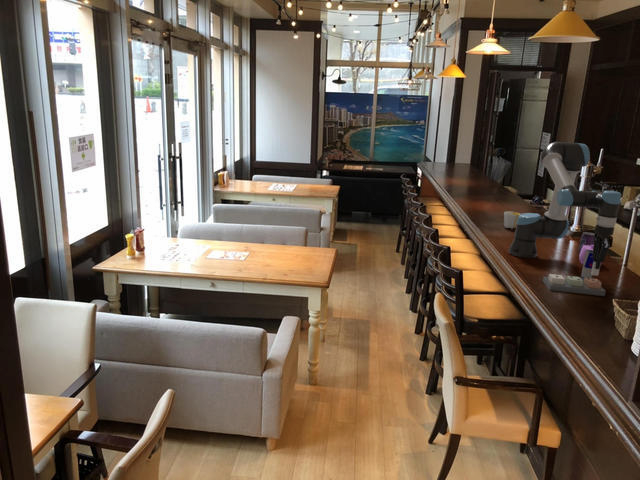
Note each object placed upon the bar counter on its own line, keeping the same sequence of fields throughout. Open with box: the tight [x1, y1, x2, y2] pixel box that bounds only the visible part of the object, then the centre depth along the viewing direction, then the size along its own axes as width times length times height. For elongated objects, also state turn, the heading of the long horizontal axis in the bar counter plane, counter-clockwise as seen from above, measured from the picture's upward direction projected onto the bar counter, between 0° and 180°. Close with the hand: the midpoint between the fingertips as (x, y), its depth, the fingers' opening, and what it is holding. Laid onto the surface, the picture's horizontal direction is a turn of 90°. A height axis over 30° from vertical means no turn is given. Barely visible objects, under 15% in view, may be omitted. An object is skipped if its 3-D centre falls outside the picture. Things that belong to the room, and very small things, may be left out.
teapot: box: [578, 245, 602, 267], centre depth 283 cm, size 18×10×10 cm, turn 162°
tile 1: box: [547, 273, 566, 285], centre depth 241 cm, size 6×6×3 cm
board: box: [542, 276, 607, 297], centre depth 241 cm, size 12×24×2 cm, turn 81°
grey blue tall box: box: [580, 250, 594, 281], centre depth 253 cm, size 5×5×15 cm
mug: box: [503, 210, 521, 230], centre depth 351 cm, size 14×10×10 cm
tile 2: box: [565, 275, 584, 287], centre depth 240 cm, size 6×6×3 cm
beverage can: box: [577, 231, 596, 253], centre depth 301 cm, size 7×7×12 cm
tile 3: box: [583, 277, 602, 289], centre depth 239 cm, size 6×6×3 cm
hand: (594, 274), depth 238 cm, fingers closed
